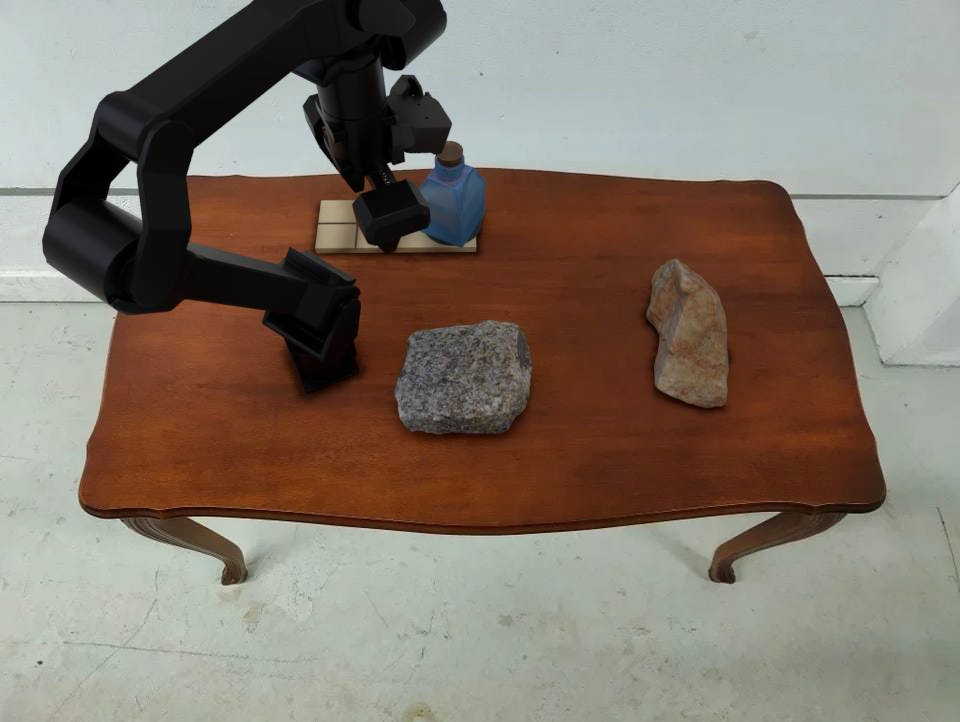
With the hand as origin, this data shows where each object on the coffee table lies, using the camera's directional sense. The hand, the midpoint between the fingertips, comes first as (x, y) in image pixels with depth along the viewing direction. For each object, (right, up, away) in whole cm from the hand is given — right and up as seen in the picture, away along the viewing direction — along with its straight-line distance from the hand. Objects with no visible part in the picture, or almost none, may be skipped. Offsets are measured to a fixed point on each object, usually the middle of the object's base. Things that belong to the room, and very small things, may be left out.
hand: (374, 220), depth 74 cm
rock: (+9, -18, +5) cm, 21 cm away
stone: (+35, -13, +8) cm, 38 cm away
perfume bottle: (+8, +3, +16) cm, 18 cm away
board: (+1, +2, +16) cm, 17 cm away
